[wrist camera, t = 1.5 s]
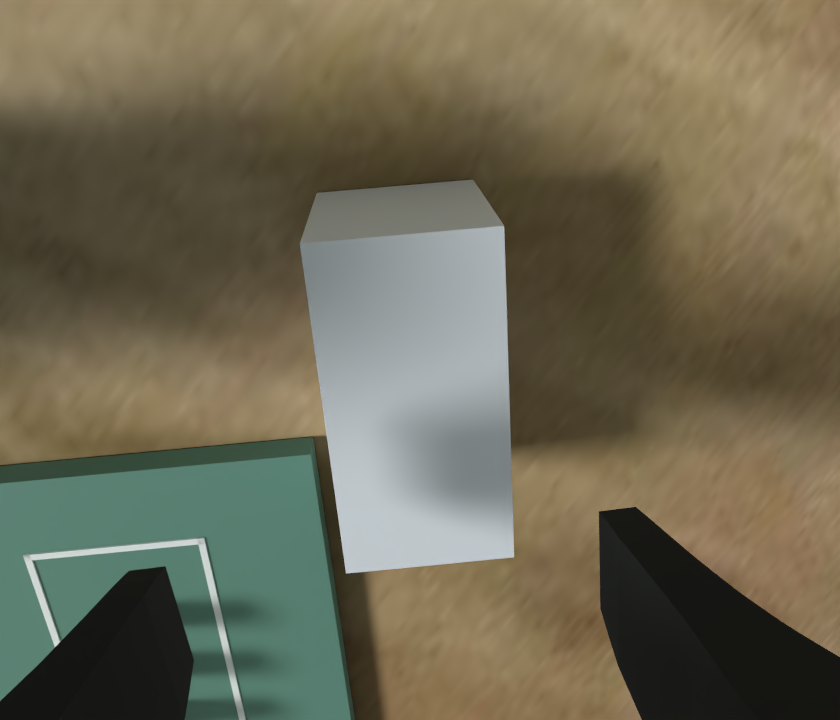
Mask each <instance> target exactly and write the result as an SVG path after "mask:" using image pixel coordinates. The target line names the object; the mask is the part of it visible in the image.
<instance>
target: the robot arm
mask: <svg viewBox="0 0 840 720" xmlns="http://www.w3.org/2000/svg"><path fill="white" fill-rule="evenodd" d="M599 540H600V602H601V611H602V615H603V618H604V621H605V625H606V628H607V631H608V635H609V638H610V641H611V645H612V648H613V651H614V654H615V657H616V660H617V663H618V666H619V668H620V671H621V673H622V675H623V678H624V680H625V682H626V685H627V687H628V689H629V691H630V694H631V696H632V698H633V701H634V703H635V705H636V707H637V710H638V712H639V714H640V716H641V719H642V720H840V657H838V656H837V655H835V654H833V653H832V652H830V651H828V650H827V649H825V648H823V647H822V646H820V645H818V644H817V643H815V642H813V641H812V640H810V639H808V638H807V637H805V636H803V635H802V634H800V633H798V632H797V631H795V630H794V629H792V628H791V627H789V626H787V625H786V624H784V623H783V622H781V621H780V620H778V619H777V618H775V617H774V616H772V615H771V614H770V613H768V612H767V611H765V610H764V609H762V608H761V607H759V606H758V605H757V604H755V603H754V602H752V601H751V600H749V599H748V598H747V597H745V596H744V595H742V594H741V593H740V592H738V591H737V590H736V589H734V588H733V587H732V586H731V585H729V584H728V583H727V582H725V581H724V580H723V579H722V578H720V577H719V576H718V575H717V574H715V573H714V572H713V571H711V570H710V569H709V568H708V567H706V566H705V565H704V564H703V563H701V562H700V561H699V560H698V559H696V558H695V557H694V556H693V555H692V554H690V553H689V552H688V551H687V550H686V549H684V548H683V547H682V546H681V545H680V544H679V543H677V542H676V541H675V540H674V539H673V538H671V537H670V536H669V535H668V534H667V533H666V532H664V531H663V530H662V529H661V528H660V527H659V526H658V525H656V524H655V523H654V522H653V521H652V520H651V519H649V518H648V517H647V516H646V515H645V514H643V513H642V512H641V511H640V510H639V509H637V508H636V507H632V508H624V509H616V510H608V511H600V512H599ZM193 663H194V658H193V655H192V652H191V649H190V645H189V642H188V639H187V635H186V632H185V629H184V626H183V622H182V619H181V616H180V612H179V609H178V606H177V603H176V599H175V596H174V593H173V589H172V586H171V583H170V579H169V576H168V573H167V570H166V566H163V567H155V568H147V569H139V570H131V571H128V572H127V573H126V574H125V575H124V576H123V577H122V578H121V579H120V580H119V581H118V582H117V583H116V584H115V585H114V586H113V587H112V588H111V589H110V590H109V591H108V592H107V593H106V594H105V595H104V596H103V598H102V599H101V600H100V601H99V602H98V603H97V604H96V605H95V606H94V607H93V608H92V609H91V610H90V611H89V612H88V613H87V615H86V616H85V617H84V618H83V619H82V620H81V621H80V622H79V623H78V624H77V625H76V626H75V627H74V628H73V629H72V630H71V631H70V632H69V633H68V634H67V635H66V637H65V638H64V639H63V640H62V641H61V642H60V643H59V644H58V645H57V646H56V647H55V648H54V649H53V650H52V651H51V652H50V653H49V654H48V655H47V656H46V657H45V658H44V659H43V660H42V661H41V662H40V663H39V664H38V665H37V666H36V667H35V668H34V669H33V670H32V671H31V672H30V673H29V674H28V675H27V676H26V677H25V678H24V679H23V680H22V681H21V682H20V683H18V684H17V685H16V686H15V687H14V688H13V689H12V690H11V691H10V692H9V693H8V694H7V695H6V696H5V697H4V698H3V699H2V700H1V701H0V720H185V715H186V709H187V703H188V697H189V691H190V684H191V677H192V670H193Z"/></svg>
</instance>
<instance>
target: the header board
mask: <svg viewBox="0 0 840 720" xmlns="http://www.w3.org/2000/svg"><path fill="white" fill-rule="evenodd" d="M163 566H166V570H167V573H168V576H169V579H170V583H171V586H172V589H173V593H174V596H175V599H176V603H177V606H178V609H179V612H180V616H181V619H182V622H183V626H184V629H185V632H186V635H187V639H188V642H189V645H190V649H191V652H192V655H193V658H194V663H193V670H192V677H191V684H190V691H189V697H188V703H187V709H186V715H185V720H355V715H354V708H353V702H352V695H351V688H350V682H349V675H348V668H347V661H346V655H345V648H344V641H343V634H342V628H341V621H340V614H339V608H338V601H337V594H336V587H335V581H334V574H333V567H332V560H331V554H330V547H329V540H328V534H327V527H326V520H325V513H324V507H323V500H322V493H321V487H320V480H319V473H318V466H317V460H316V453H315V446H314V439H313V437H307V438H297V439H286V440H275V441H264V442H254V443H243V444H232V445H221V446H211V447H200V448H189V449H178V450H168V451H157V452H146V453H135V454H125V455H114V456H103V457H92V458H82V459H71V460H60V461H49V462H39V463H28V464H17V465H6V466H0V701H1V700H2V699H3V698H4V697H5V696H6V695H7V694H8V693H9V692H10V691H11V690H12V689H13V688H14V687H15V686H16V685H17V684H18V683H20V682H21V681H22V680H23V679H24V678H25V677H26V676H27V675H28V674H29V673H30V672H31V671H32V670H33V669H34V668H35V667H36V666H37V665H38V664H39V663H40V662H41V661H42V660H43V659H44V658H45V657H46V656H47V655H48V654H49V653H50V652H51V651H52V650H53V649H54V648H55V647H56V646H57V645H58V644H59V643H60V642H61V641H62V640H63V639H64V638H65V637H66V635H67V634H68V633H69V632H70V631H71V630H72V629H73V628H74V627H75V626H76V625H77V624H78V623H79V622H80V621H81V620H82V619H83V618H84V617H85V616H86V615H87V613H88V612H89V611H90V610H91V609H92V608H93V607H94V606H95V605H96V604H97V603H98V602H99V601H100V600H101V599H102V598H103V596H104V595H105V594H106V593H107V592H108V591H109V590H110V589H111V588H112V587H113V586H114V585H115V584H116V583H117V582H118V581H119V580H120V579H121V578H122V577H123V576H124V575H125V574H126V573H127V572H128V571H131V570H139V569H147V568H155V567H163Z"/></svg>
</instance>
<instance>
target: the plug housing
mask: <svg viewBox="0 0 840 720" xmlns="http://www.w3.org/2000/svg"><path fill="white" fill-rule="evenodd" d="M300 249H301V256H302V263H303V271H304V278H305V285H306V292H307V299H308V306H309V313H310V320H311V328H312V335H313V342H314V349H315V356H316V363H317V370H318V377H319V385H320V392H321V399H322V406H323V413H324V420H325V427H326V434H327V442H328V449H329V456H330V463H331V470H332V477H333V484H334V491H335V498H336V506H337V513H338V520H339V527H340V534H341V541H342V548H343V555H344V563H345V570H346V574H347V573H357V572H367V571H377V570H388V569H398V568H408V567H419V566H429V565H439V564H449V563H460V562H470V561H480V560H490V559H501V558H511V557H514V536H513V503H512V469H511V435H510V402H509V368H508V335H507V301H506V267H505V234H504V225H503V223H502V222H501V220H500V219H499V217H498V216H497V214H496V213H495V211H494V210H493V208H492V207H491V205H490V204H489V202H488V201H487V199H486V198H485V196H484V195H483V193H482V192H481V190H480V189H479V187H478V186H477V185H476V183H475V182H474V180H462V181H450V182H438V183H427V184H415V185H403V186H391V187H380V188H368V189H356V190H345V191H333V192H321V193H317V194H316V197H315V200H314V203H313V206H312V208H311V211H310V214H309V217H308V220H307V223H306V226H305V229H304V232H303V235H302V238H301V241H300Z"/></svg>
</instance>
